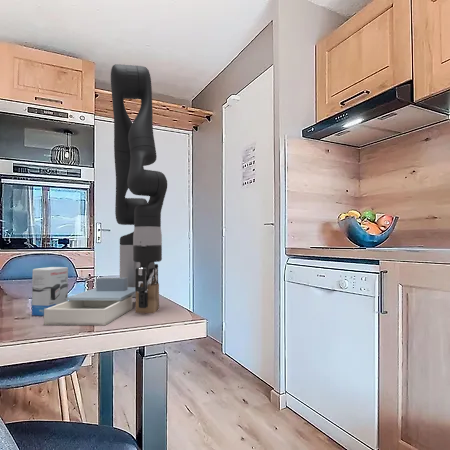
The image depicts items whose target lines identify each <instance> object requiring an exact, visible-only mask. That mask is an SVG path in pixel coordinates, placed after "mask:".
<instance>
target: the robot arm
mask: <svg viewBox="0 0 450 450" xmlns="http://www.w3.org/2000/svg"><path fill="white" fill-rule="evenodd" d="M151 78H152V77H151V73H150V70H149V69H148V67H146V66H143V65H135V64H133V65H131V64H120V63H119V64H113V65H112V66H111V69H110V88H111V99H112V100H111V101H112V112H113V113H112V114H113V138H114V139H113V153H114V155H113V158H114V169H115V171H114V172H115V205H114V206H115V209H114V210H115V211H114V214H115V220H116V223H117V224H118V225H122V226H133V227H134V228H133V231H132V232H130V233H128V234H124V235H121V236H120V238H119V278H128V287H135V291H137V292H138V293H139V308H146V307H148V288H149V286H150V285H151V284H159V264H158V263H160V262H161V261H162V259H163V258H162V257H163V256H162V255H163V254H162V253H163V252H162V251H163V248H162V247H163V245H162V244H163V238H162V237H163V235H162V227H161V226H162V225H161V224H162V221H161V219H162V218H161V217H162V209H163V205H164V201H165V198H166V194H167V191H168V180H167V177H166V175H165V174H164V173H163V172H162V171H159V170H152V169H145V168H144V167H145V166H146V167H147V166H150V165H153V164H154V163H156V161H157V150H156V143H155V138H154V127H153V126H154V125H153V122H154V121H153V119H154V118H153V88H152V79H151ZM124 100H140V108H139V111H138V112H137V115H136V116H135V119H134V120H133V121H132V120H131V118H130V116H129V113H128V112H127V110H126V106H125V101H124ZM128 190H129V191H130V193H131V194H133V195H135V196H142V197H126V195H127V192H128ZM143 197H149V199H148V200H147V199H146V198H143ZM141 286H143V287H141ZM131 296H133V297H132V298H136V293H135V294H133V295H131Z"/></svg>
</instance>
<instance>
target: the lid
mask: <svg viewBox="0 0 450 450" xmlns="http://www.w3.org/2000/svg"><path fill="white" fill-rule="evenodd" d="M95 283H96V284H95V285H96V286H95V288H92V289H89V290H86V291H83V292H78V293H76V294H74V295H71V296H68V297H67V300H68V301H69V300H123V299H125V298H127V297H129V296H131V295H133V294H135V293H136V291H135V287H128V278H120V277H99V278H96V282H95Z"/></svg>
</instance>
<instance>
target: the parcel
mask: <svg viewBox="0 0 450 450" xmlns="http://www.w3.org/2000/svg"><path fill="white" fill-rule="evenodd" d="M141 287H143V286H141ZM158 309H159V310H160V283H158V284H151V285H150V286H149V288H148V307H146V308H139V293H138V292H137V291H136V297H135V314H155V313H157V312H158V311H159V310H158Z"/></svg>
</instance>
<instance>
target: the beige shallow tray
mask: <svg viewBox="0 0 450 450" xmlns="http://www.w3.org/2000/svg"><path fill="white" fill-rule="evenodd" d="M133 298H134V297H133V296H129V297H127V298H125V299H123V300H68V301H66V302H64V303H61V304H58V305H55V306H52V307H49V308H46V309H44V316H43V326H107V325H108V324H110V323H112V322H113V321H115V320H117V319H118V318H120V317H121V316H123V315H125V314H126V313H128V312H130V311H131V310H133Z"/></svg>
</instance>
